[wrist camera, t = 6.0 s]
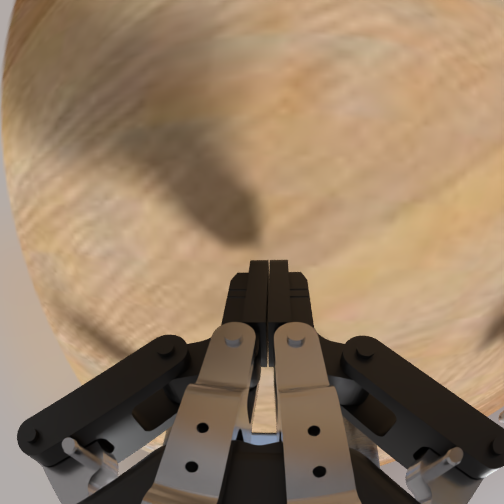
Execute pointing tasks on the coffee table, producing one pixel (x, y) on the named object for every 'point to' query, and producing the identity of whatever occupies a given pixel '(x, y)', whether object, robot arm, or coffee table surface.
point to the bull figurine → (501, 417)
